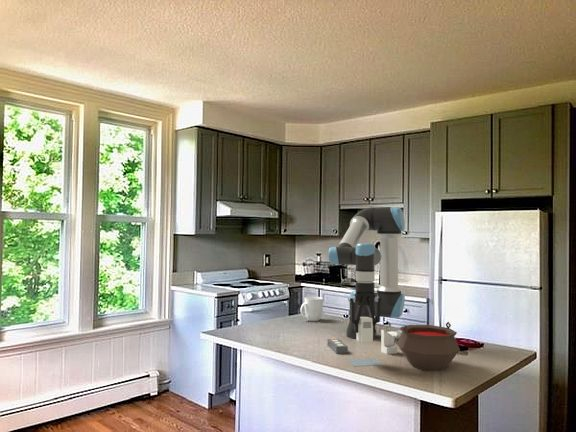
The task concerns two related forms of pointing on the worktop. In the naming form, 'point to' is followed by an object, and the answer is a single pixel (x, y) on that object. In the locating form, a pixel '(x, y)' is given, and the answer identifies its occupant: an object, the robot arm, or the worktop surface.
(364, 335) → the block
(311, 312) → the mug
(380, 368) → the worktop surface
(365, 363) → the mat
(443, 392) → the worktop surface
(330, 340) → the power strip
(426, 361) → the brown pot
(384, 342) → the white angled block
